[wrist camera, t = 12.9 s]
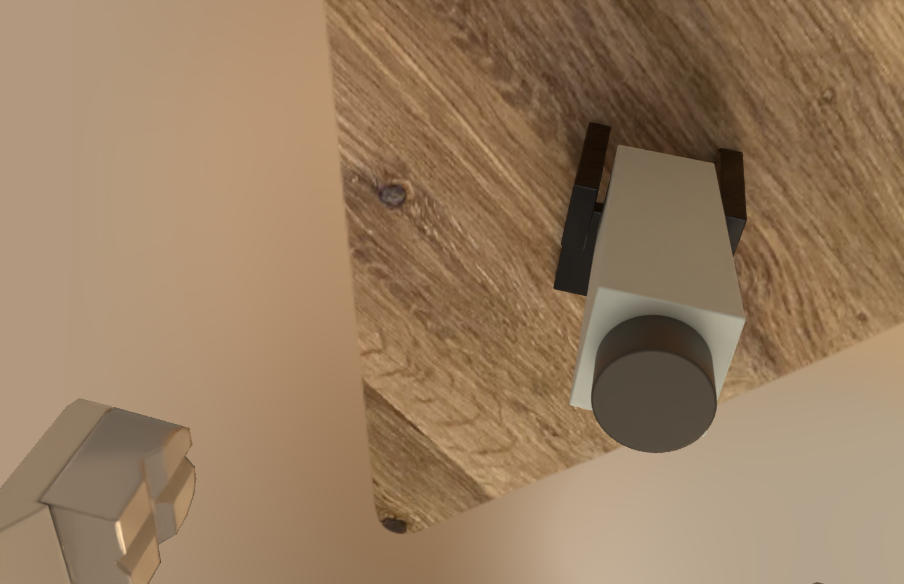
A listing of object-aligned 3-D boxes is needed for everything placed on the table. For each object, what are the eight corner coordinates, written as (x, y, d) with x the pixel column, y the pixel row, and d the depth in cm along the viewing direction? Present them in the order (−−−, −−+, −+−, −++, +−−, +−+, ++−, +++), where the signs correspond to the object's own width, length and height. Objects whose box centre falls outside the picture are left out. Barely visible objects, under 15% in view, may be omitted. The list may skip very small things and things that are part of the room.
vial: (593, 320, 21) (561, 445, 23) (754, 355, 21) (709, 481, 23) (618, 143, 35) (597, 231, 37) (714, 163, 35) (688, 250, 37)
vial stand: (589, 122, 38) (573, 184, 34) (743, 152, 37) (747, 219, 33) (555, 279, 44) (538, 350, 39) (688, 309, 43) (685, 384, 38)
